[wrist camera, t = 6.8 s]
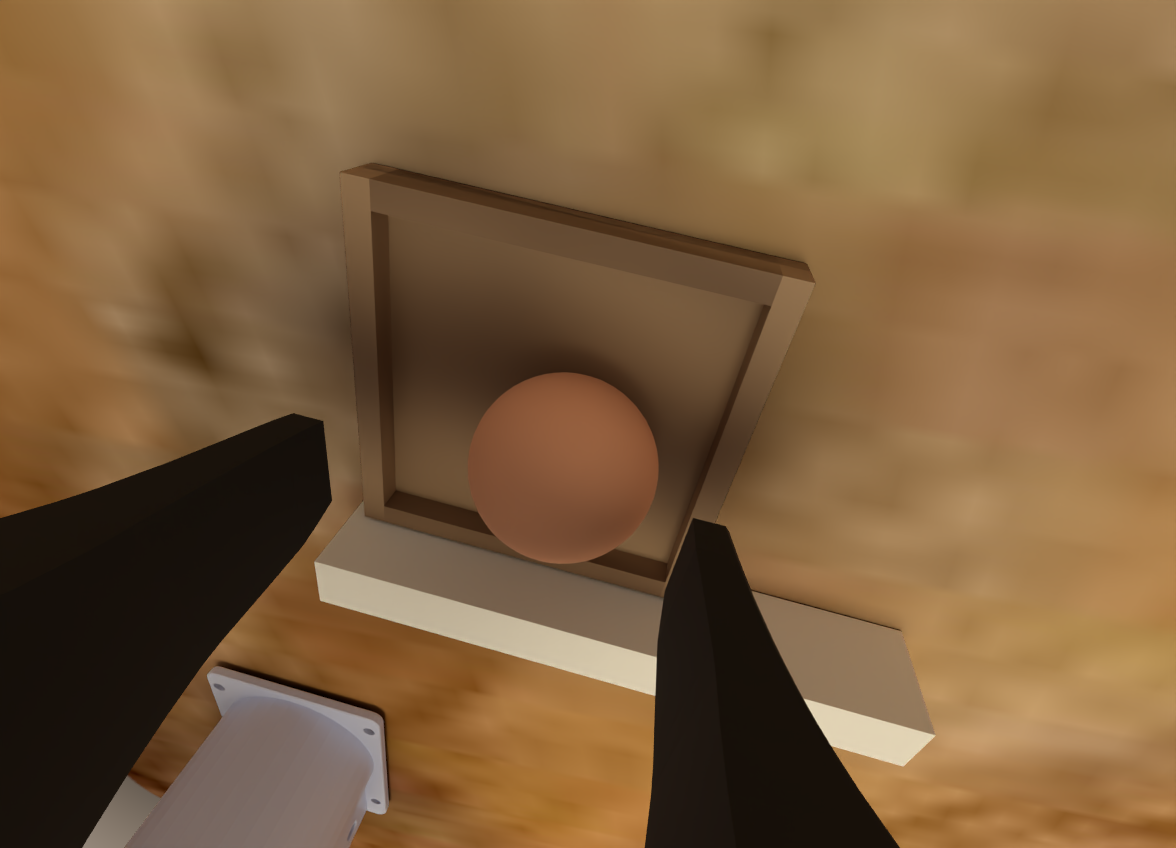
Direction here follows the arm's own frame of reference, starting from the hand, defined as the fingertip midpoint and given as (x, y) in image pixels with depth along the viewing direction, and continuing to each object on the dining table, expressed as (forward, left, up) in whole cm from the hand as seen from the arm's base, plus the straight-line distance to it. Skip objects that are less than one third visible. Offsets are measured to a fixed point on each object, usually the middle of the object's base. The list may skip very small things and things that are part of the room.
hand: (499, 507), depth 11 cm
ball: (0, -1, -2) cm, 2 cm away
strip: (-5, -3, -4) cm, 7 cm away
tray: (0, 0, -4) cm, 4 cm away
